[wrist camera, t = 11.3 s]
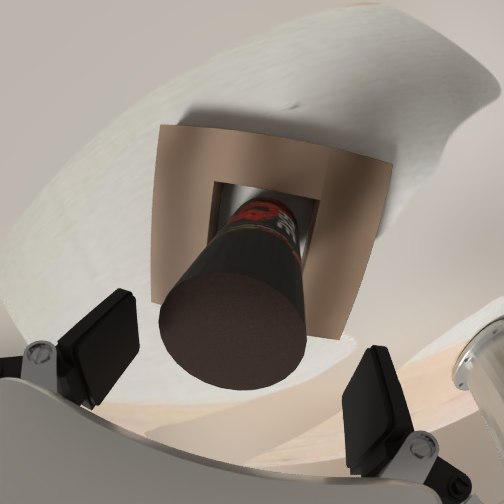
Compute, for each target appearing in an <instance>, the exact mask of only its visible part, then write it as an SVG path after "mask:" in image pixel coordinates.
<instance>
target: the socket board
mask: <svg viewBox="0 0 504 504" xmlns="http://www.w3.org/2000/svg"><path fill="white" fill-rule="evenodd" d="M392 167H393V164H390V163H387V162H383V161H380V160H377V159H373V158H370V157H366V156H363V155H359V154H355V153H351V152H347V151H344V150H339V149H335V148H331V147H327V146H322V145H318V144H313V143H308V142H304V141H299V140H293V139H288V138H282V137H277V136H271V135H264V134H258V133H251V132H243V131H236V130H227V129H218V128H208V127H196V126H181V125H160V131H159V139H158V147H157V156H156V166H155V177H154V189H153V205H152V225H151V302H153V303H157V304H160V305H162V304H163V302H164V300H165V298H166V296H167V295H168V293H169V292H170V291H171V289H172V288H173V287H174V286H175V284H176V283H177V282H178V281H179V279H180V278H181V277H182V276H183V274H184V273H185V272H186V271H187V269H188V268H189V267H190V266H191V264H192V263H193V262H194V261H195V260H196V258H197V257H198V256H199V255H200V253H201V252H202V251H203V250H204V249H205V247H206V246H207V245H208V244H209V243H210V241H211V240H212V239H213V238H214V237H215V235H216V228H217V220H218V212H219V204H220V196H221V189H222V182H224V183H230V184H237V185H243V186H249V187H255V188H261V189H266V190H272V191H277V192H283V193H288V194H293V195H298V196H303V197H308V198H313V199H315V203H314V207H313V212H312V217H311V221H310V226H309V230H308V235H307V239H306V243H305V248H304V252H303V256H302V260H301V267H302V278H303V291H304V304H305V319H306V335H307V336H314V337H321V338H328V339H335V340H340V337H341V335H342V333H343V330H344V327H345V325H346V322H347V320H348V317H349V315H350V312H351V309H352V307H353V304H354V301H355V299H356V296H357V293H358V290H359V287H360V284H361V282H362V279H363V276H364V273H365V270H366V267H367V263H368V260H369V257H370V254H371V251H372V247H373V243H374V240H375V237H376V233H377V230H378V226H379V223H380V219H381V215H382V211H383V207H384V203H385V199H386V195H387V190H388V186H389V182H390V177H391V172H392Z"/></svg>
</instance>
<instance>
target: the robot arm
mask: <svg viewBox="0 0 504 504" xmlns="http://www.w3.org/2000/svg"><path fill="white" fill-rule="evenodd" d="M57 342H58V344H57V345H56V346H54V345H53V344H52V343H51V342H48V341H42V340H40V341H35V342H33V343H31V344H30V345H28V347H27V348H26V349H25V351H24V354H23V356H16V357H6V358H0V504H483V503H482V501H481V500H480V499H479V498H478V496H477V495H476V494H475V493H474V494H473V495H471V490H472V484H471V480H470V479H469V477H468V476H466V474H464V473H463V472H461V471H459V470H458V469H456V468H455V467H454V466H452V465H451V464H449V463H448V462H446V461H445V460H443V459H442V458H440V457H439V456H438V452H439V445H438V442H437V440H436V439H435V437H433V436H432V435H431V434H430V433H428V432H425V431H415V432H414V428H413V424H412V421H411V417H410V414H409V410H408V407H407V403H406V400H405V397H404V394H403V391H402V387H401V384H400V382H399V380H398V377H397V374H396V371H395V368H394V365H393V363H392V360H391V357H390V354H389V352H388V349H387V347H385V346H377V345H372V346H371V348H367V350H366V351H365V353H364V355H363V357H362V359H361V361H360V363H359V365H358V367H357V369H356V371H355V372H354V374H353V376H352V378H351V380H350V382H349V384H348V385H347V387H346V389H345V391H344V393H343V395H342V409H343V420H344V433H345V449H346V465H347V467H348V468H350V474H351V475H361V477H356V478H355V477H322V476H308V475H296V474H287V473H279V472H272V471H265V470H259V469H253V468H248V467H243V466H238V465H233V464H229V463H224V462H220V461H216V460H212V459H208V458H205V457H201V456H198V455H194V454H191V453H188V452H185V451H182V450H178V449H175V448H172V447H169V446H167V445H164V444H161V443H158V442H156V441H153V440H151V439H148V438H145V437H143V436H141V435H138V434H136V433H133V432H131V431H129V430H126V429H124V428H122V427H120V426H118V425H116V424H113V423H111V422H109V421H107V420H105V419H103V418H101V417H99V416H97V415H95V414H93V413H91V412H90V411H88V410H86V409H84V408H82V407H80V405H83V406H85V407H87V408H88V409H90V410H93V408H94V407H95V405H97V406H98V405H100V404H101V402H102V401H103V400H104V398H105V397H106V395H107V394H108V393H109V391H110V390H111V389H112V387H113V386H114V385H115V383H116V382H117V380H118V379H119V378H120V376H121V375H122V374H123V372H124V371H125V370H126V368H127V367H128V366H129V364H130V363H131V362H132V360H133V359H134V358H135V356H136V355H137V354H138V352H139V348H140V344H139V334H138V323H137V311H136V298H135V297H134V296H133V294H132V292H130V291H127V290H124V289H121V288H118V289H117V290H115V291H114V292H113V293H112V294H111V295H110V296H108V297H107V298H106V299H105V300H104V301H102V302H101V303H100V304H99V305H98V306H97V307H95V308H94V309H93V310H92V311H91V312H90V313H88V314H87V315H86V316H85V317H84V318H83V319H82V320H80V321H79V322H78V323H77V324H76V325H75V326H74V327H73V328H71V329H70V330H69V331H68V332H67V333H66V334H65V335H64V336H63V337H61V338H60V339H59V340H58V341H57ZM452 378H453V382H454V384H455V386H456V388H457V389H459V390H463V391H466V390H470V392H471V394H472V396H473V398H474V400H475V402H476V404H477V406H478V408H479V410H480V412H481V414H482V416H483V418H484V420H485V422H486V425H487V427H488V429H489V431H490V433H491V436H492V438H493V441H494V443H495V446H496V448H497V451H498V453H499V455H500V458H501V461H502V463H503V465H504V319H503V320H499V321H497V322H494V323H492V324H491V325H489V326H487V327H486V328H485V329H484V330H482V331H481V332H480V333H479V334H478V335H477V336H476V337H475V338H474V339H473V340H472V341H471V342H470V343H469V344H468V345H467V347H466V348H465V349H464V351H463V352H462V354H461V355H460V357H459V358H458V360H457V362H456V364H455V367H454V370H453V375H452ZM499 504H504V500H503V501H502V502H500V503H499Z"/></svg>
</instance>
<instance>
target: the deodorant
mask: <svg viewBox="0 0 504 504" xmlns="http://www.w3.org/2000/svg"><path fill="white" fill-rule="evenodd" d="M158 323H159V329H160V335H161V338H162V341H163V343H164V345H165V347H166V349H167V351H168V353H169V354H170V355H171V356H172V358H173V359H174V360H175V361H176V363H177V364H178V365H179V366H181V367H182V368H183V369H184V370H185V371H187V372H188V373H189V374H190V375H192V376H194V377H196V378H198V379H199V380H201V381H203V382H205V383H208V384H211V385H214V386H217V387H220V388H225V389H231V390H256V389H260V388H264V387H268V386H272V385H274V384H276V383H278V382H280V381H282V380H284V379H285V378H286V377H287V376H289V375H290V374H291V373H292V372H293V371H294V370H295V369H296V368H297V366H298V365H299V363H300V362H301V360H302V358H303V356H304V353H305V348H306V343H307V335H306V319H305V304H304V291H303V278H302V267H301V256H300V246H299V236H298V228H297V222H296V219H295V217H294V215H293V213H292V212H291V211H290V210H289V208H288V207H287V206H285V205H284V204H282V203H281V202H280V201H277V200H274V199H271V198H256V199H252V200H250V201H248V202H246V203H244V204H243V205H242V206H241V207H240V208H238V209H237V211H236V212H235V213H234V214H233V215H232V216H231V218H230V219H229V220H228V221H227V222H226V224H225V225H224V226H223V227H222V228H221V229H220V231H219V232H218V233H217V234H216V235H215V237H214V238H213V239H212V240H211V241H210V243H209V244H208V245H207V246H206V247H205V249H204V250H203V251H202V252H201V253H200V255H199V256H198V257H197V258H196V260H195V261H194V262H193V263H192V264H191V266H190V267H189V268H188V269H187V271H186V272H185V273H184V274H183V276H182V277H181V278H180V279H179V281H178V282H177V283H176V284H175V286H174V287H173V288H172V289H171V291H170V292H169V293H168V295H167V296H166V298H165V300H164V302H163V304H162V306H161V308H160V315H159V322H158Z"/></svg>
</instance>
